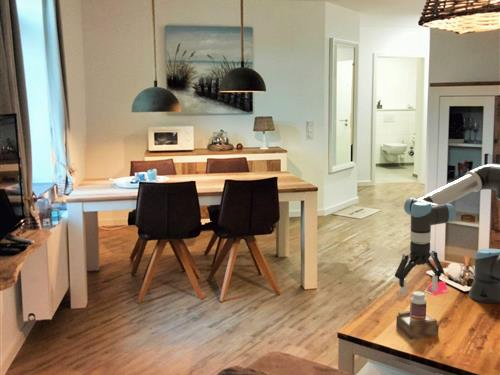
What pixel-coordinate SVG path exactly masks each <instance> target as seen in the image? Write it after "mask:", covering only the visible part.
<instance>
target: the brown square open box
mask: <svg viewBox="0 0 500 375" xmlns="http://www.w3.org/2000/svg"><path fill="white" fill-rule="evenodd" d="M395 324H396V326H395V327H396V328H397V329H398V330H399V331H401V332H402V333H403V334H404V335H405V336H406V337H407V338H408V339H409V340H415V339H416V340H417V339H424V338H425V339H427V338H434V337H439V328H440V327H439V325H440V324H439V323H438V320H437V319H436V318H431V317H430V316H428V315H427V314H426V320H421V321H413V320H411V319H410V310H408V311H399V312H398V314H397V315H396V323H395Z"/></svg>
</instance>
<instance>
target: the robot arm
mask: <svg viewBox="0 0 500 375" xmlns="http://www.w3.org/2000/svg"><path fill="white" fill-rule="evenodd" d="M483 190H491V191H496V192H495V193H496V199H497V200H499V201H500V163H487V164H483V165H479V166H478V167H475V168H473V169H471V170H469V171H467V172H466V173H464V175H463V176H461V177H460V178H457V179H455V180H454V181H452V182H449V183H447V184H446V185H443V186H441V187H439V188H437V189H435V190H433V191H431V192H428V193H426V194H425V195H422V196H420V197H409V198H407V199H406V200H405V201H404V205H403V209H404V212H405V213H406V214H407V215H409V216H410V242H409V243H410V246H409V250H410V253H409V254H406V253H402V258H401V261H400V263H399V265H398V267H397V268H396V272H395V274H394V277H395V278H397V279H398V282H399V287H400V294H402V295H403V296H406V295H407V279H406V278H407V276H408V275H409V273H410V272H411V271H412V269H413V268H414V267H416V266H419V265H425V264H426V265H427V267H428V268H429V269H430V270H431V271H432V272H433V274H432V275H431V276H432V278H431V281H432V282H431V291H434V292H435V293H437V292H438V284H439V283H440V277H441V276H442V275H443V274H445V270H444V268H443V266H442V264H441V261H440V260H439V257H438V252H436V251H434V250H431V230H432V226H435V225H442V224H447V223H451V222H453V221H455V219H456V217H457V210H456V207H455V206H454V205H453V204H451V203H453V202H454V201H456V200H458V199H460V198H462V197H465V196H466V195H468V194H470V193H472V192H475V193H478V192H480V191H483ZM430 258H431V259H432V260H433V262H434V265H435V266H436V267H435V266H434V265H433V264H432V262H431V260H430ZM473 274H474V275H473V276H474V277H473V282H472V283H471V286H470V289H469V292H468V296H469V298H470V299H472V300H474V301H476V302H479V303H485V304H499V303H500V249H498V248H481V249H478V250H477V251H476V252H475V257H474V273H473Z"/></svg>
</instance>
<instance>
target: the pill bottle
mask: <svg viewBox="0 0 500 375" xmlns="http://www.w3.org/2000/svg"><path fill="white" fill-rule="evenodd" d="M425 297H426V294H425V293H424V292H423V291H418V290H417V291H413V292H412V297H411V298H410V302H409V303H410V306H409V308H410V309H409V311H410V319H411V320H413V321H421V320H426V315H427V298H425Z"/></svg>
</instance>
